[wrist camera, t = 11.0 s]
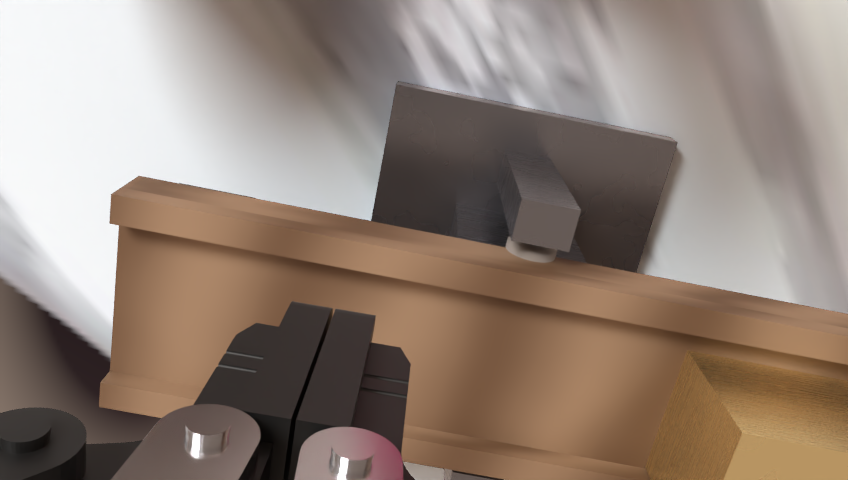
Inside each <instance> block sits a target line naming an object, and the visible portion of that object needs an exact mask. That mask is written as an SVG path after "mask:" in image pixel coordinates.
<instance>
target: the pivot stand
mask: <svg viewBox="0 0 848 480" xmlns="http://www.w3.org/2000/svg"><path fill="white" fill-rule="evenodd" d="M676 145H677V141H675V140H674V139H672V138H671V137H667V136H662V135H657V134H652V133H647V132H642V131H637V130H633V129H628V128H623V127H618V126H613V125H608V124H603V123H599V122H594V121H589V120H584V119H579V118H574V117H569V116H565V115H560V114H555V113H550V112H545V111H540V110H535V109H531V108H526V107H521V106H516V105H511V104H506V103H501V102H497V101H492V100H487V99H482V98H477V97H472V96H467V95H463V94H458V93H453V92H448V91H443V90H438V89H433V88H429V87H424V86H419V85H414V84H409V83H404V82H399V81H398V82H397V84H396V90H395V95H394V100H393V106H392V111H391V117H390V122H389V128H388V133H387V138H386V144H385V149H384V155H383V160H382V165H381V171H380V176H379V182H378V187H377V193H376V198H375V203H374V209H373V214H372V220H371V221H373V222H378V223H383V224H388V225H393V226H398V227H403V228H409V229H414V230H419V231H424V232H429V233H434V234H439V235H444V236H450V237H455V238H460V239H465V240H470V241H475V242H480V243H486V244H491V245H496V246H501V247H506V243H507V239H508V237H509V236H510V238H511V241H516V242H521V243H526V244H531V245H536V246H541V247H546V248H551V249H556V250H557V253H556V257H557V258H562V259H568V260H573V261H578V262H583V263H588V264H593V265H598V266H603V267H609V268H614V269H619V270H624V271H629V272H634V273H636V270H637V267H638V264H639V261H640V258H641V255H642V251H643V248H644V245H645V242H646V239H647V236H648V233H649V230H650V226H651V223H652V220H653V217H654V214H655V211H656V208H657V205H658V202H659V198H660V195H661V192H662V189H663V186H664V183H665V180H666V177H667V173H668V170H669V167H670V164H671V161H672V158H673V155H674V152H675V149H676ZM444 480H504V479H499V478H493V477H488V476H482V475H477V474H471V473H466V472H460V471H454V470H449V469H444Z"/></svg>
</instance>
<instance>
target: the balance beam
mask: <svg viewBox="0 0 848 480" xmlns="http://www.w3.org/2000/svg"><path fill="white" fill-rule="evenodd" d="M110 224H115V225H119V236H118V252H117V268H116V284H115V300H114V316H113V332H112V348H111V365H110V372H109V373H108V374H107V376H106V377H105V378H104V379H103V380H102V381H101V383H100V401H99V407H103V408H109V409H115V410H121V411H126V412H132V413H137V414H143V415H149V416H154V417H159V418H163V417H164V416H165V415H167V414H168V413H170V412H172V411H174V410H177V409H180V408H182V407H186V406H191V405H193V404H194V403H195V401H196V400H197V398H198V396H199V395H200V393H201V391H202V390H203V388H204V386H205V385H206V383H207V381H208V380H209V378H210V377H211V375H212V373H213V372H214V370H215V368H216V367H218V364H219V362H220V360H221V359H222V357H223V355H224V354H225V353H226V351H227V349H228V347H229V345H230V344H231V342H232V340H233V339H234V337H235V336H236V334H238V333H240V332H241V331H243V330H245V329H247V328H248V327H250V326H252V325H254V324H255V323H260V324H266V325H272V326H278V327H279V325H280V323H281V321H282V319H283V317H284V315H285V313H286V311H287V309H288V307H289V305H290V303H291V302H292V301H294V302H300V303H306V304H312V305H317V306H323V307H329V308H333V314H334V311H335V309H341V310H347V311H353V312H359V313H365V314H370V315H376V319H375V326H374V332H373V338H372V343H378V344H384V345H389V346H395V347H401V349H402V351H403V352H404V354H405V356H406V357H407V359H408V360H409V362H410V364H411V366H410V376H409V385H408V394H407V404H406V413H405V423H404V432H403V441H402V451H401V455H402V460H403V461H404V462H410V463H415V464H421V465H427V466H432V467H438V468H443V469H449V470H454V471H460V472H466V473H471V474H477V475H482V476H488V477H493V478H499V479H505V480H650V477H649V475H648V473H647V470H646V468H645V466H646V463H647V460H648V458H649V455H650V452H651V449H652V447H653V444H654V441H655V438H656V436H657V433H658V430H659V427H660V424H661V422H662V419H663V416H664V413H665V411H666V408H667V405H668V402H669V400H670V397H671V394H672V391H673V389H674V386H675V383H676V380H677V378H678V375H679V372H680V369H681V366H682V364H683V361H684V358H685V355H686V353H687V350H689V351H694V352H699V353H704V354H710V355H715V356H720V357H725V358H731V359H736V360H741V361H746V362H751V363H757V364H762V365H767V366H772V367H778V368H783V369H788V370H793V371H798V372H804V373H809V374H814V375H819V376H825V377H830V378H835V379H840V380H845V381H848V314H845V313H839V312H834V311H829V310H824V309H819V308H814V307H809V306H804V305H798V304H793V303H788V302H783V301H778V300H773V299H768V298H763V297H757V296H752V295H747V294H742V293H737V292H732V291H727V290H721V289H716V288H711V287H706V286H701V285H696V284H691V283H686V282H680V281H675V280H670V279H665V278H660V277H655V276H650V275H645V274H639V273H634V272H629V271H624V270H619V269H614V268H609V267H603V266H598V265H593V264H588V263H583V262H578V261H573V260H568V259H562V258H557V257H556V253H557V250H556V249H551V248H546V247H541V246H536V245H531V244H526V243H521V242H516V241H511V238H510V236H509V237H508V239H507V243H506V247H501V246H496V245H491V244H486V243H480V242H475V241H470V240H465V239H460V238H455V237H450V236H444V235H439V234H434V233H429V232H424V231H419V230H414V229H409V228H403V227H398V226H393V225H388V224H383V223H378V222H373V221H368V220H362V219H357V218H352V217H347V216H342V215H337V214H332V213H326V212H321V211H316V210H311V209H306V208H301V207H296V206H291V205H285V204H280V203H275V202H270V201H265V200H260V199H255V198H253V197H247V196H242V195H237V194H232V193H227V192H222V191H217V190H212V189H206V188H201V187H196V186H191V185H186V184H181V183H179V184H178V183H173V182H167V181H162V180H157V179H152V178H147V177H142V176H138V177H137V178H135V179H134V180H132V181H131V182H129V183H128V184H126V185H125V186H123V187H122V188H120V189H119V190H117V191H116V192H114V193H113V194H111V209H110ZM332 317H333V316H332Z"/></svg>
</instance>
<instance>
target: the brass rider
mask: <svg viewBox="0 0 848 480" xmlns="http://www.w3.org/2000/svg"><path fill="white" fill-rule="evenodd" d="M645 468H646V470H647V473H648V475H649V477H650V480H848V381H845V380H840V379H835V378H830V377H825V376H819V375H814V374H809V373H804V372H798V371H793V370H788V369H783V368H778V367H772V366H767V365H762V364H757V363H751V362H746V361H741V360H736V359H731V358H725V357H720V356H715V355H710V354H704V353H699V352H694V351H689V350H687V353H686V355H685V358H684V361H683V364H682V366H681V369H680V372H679V375H678V378H677V380H676V383H675V386H674V389H673V391H672V394H671V397H670V400H669V402H668V405H667V408H666V411H665V413H664V416H663V419H662V422H661V424H660V427H659V430H658V433H657V436H656V438H655V441H654V444H653V447H652V449H651V452H650V455H649V458H648V460H647V463H646V466H645Z"/></svg>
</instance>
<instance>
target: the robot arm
mask: <svg viewBox="0 0 848 480" xmlns="http://www.w3.org/2000/svg"><path fill="white" fill-rule="evenodd" d="M332 316H333V317H332ZM375 319H376V315H370V314H365V313H359V312H353V311H347V310H341V309H335V311H334V314H333V308H329V307H323V306H317V305H312V304H306V303H300V302H294V301H292V302H291V303H290V305H289V307H288V309H287V311H286V313H285V315H284V317H283V319H282V321H281V323H280V325H279V327H278V326H272V325H266V324H260V323H255V324H254V325H252V326H250V327H248V328H247V329H245V330H243V331H241V332H240V333H238V334H236V336H235V337H234V339H233V340H232V342H231V344H230V345H229V347H228V349H227V351H226V353H225V354H224V355H223V357H222V359H221V360H220V362H219V364H218V367H216V368H215V370H214V372H213V373H212V375H211V377H210V378H209V380H208V381H207V383H206V385H205V386H204V388H203V390H202V391H201V393H200V395H199V396H198V398H197V400H196V401H195V403H194V404H193V405H191V406H186V407H182V408H180V409H177V410H174V411H172V412H170V413H168V414H167V415H165V416H164V417H163V418H161V419H160V420H159V421H158V422H157V424H156V425H155V426H154V427H153V429H152V430H151V431H150V432H149V433H148V435H147V436H146V437H145V438H144V440H141V441H135V442H126V443H107V444H86V429H85V427H84V425H83V423H82V422H81V421H80V420H79V419H78V418H76V417H75V416H73V415H71V414H69V413H67V412H64V411H61V410H56V409H50V408H23V409H16V410H11V411H7V412H3V413H0V480H415V479H414V478H413V477H412V476H411V475H410V474H409V472H408V471H407V470H406V468H405V466H404V464H403V460H402V455H401V451H402V441H403V432H404V423H405V413H406V404H407V394H408V385H409V376H410V366H411V364H410V362H409V360H408V359H407V357H406V356H405V354H404V352H403V351H402V349H401V347H395V346H389V345H384V344H378V343H372V338H373V332H374V326H375Z"/></svg>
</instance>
